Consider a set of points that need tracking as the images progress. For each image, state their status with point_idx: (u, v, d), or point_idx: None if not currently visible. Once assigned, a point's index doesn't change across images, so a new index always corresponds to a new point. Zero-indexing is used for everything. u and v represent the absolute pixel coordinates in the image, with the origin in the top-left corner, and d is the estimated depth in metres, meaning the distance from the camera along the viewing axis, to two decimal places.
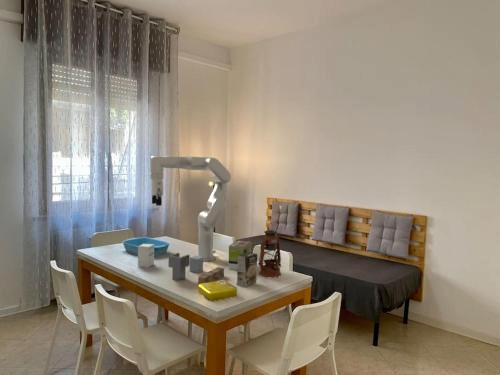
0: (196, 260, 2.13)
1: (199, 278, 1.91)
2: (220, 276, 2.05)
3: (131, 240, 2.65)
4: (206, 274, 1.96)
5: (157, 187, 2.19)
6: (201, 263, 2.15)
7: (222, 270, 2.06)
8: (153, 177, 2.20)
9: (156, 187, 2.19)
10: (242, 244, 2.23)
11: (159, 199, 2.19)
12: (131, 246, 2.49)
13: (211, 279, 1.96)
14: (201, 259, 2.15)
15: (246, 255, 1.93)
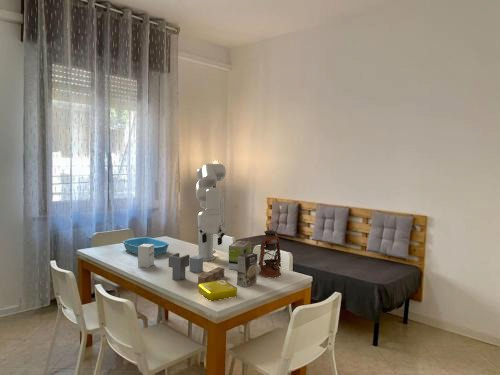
0: (196, 260, 2.13)
1: (199, 278, 1.91)
2: (220, 276, 2.05)
3: (132, 240, 2.66)
4: (206, 274, 1.96)
5: None
6: (201, 263, 2.15)
7: (222, 270, 2.06)
8: None
9: None
10: (242, 244, 2.23)
11: None
12: (131, 246, 2.49)
13: (211, 279, 1.96)
14: (201, 259, 2.15)
15: (246, 255, 1.93)
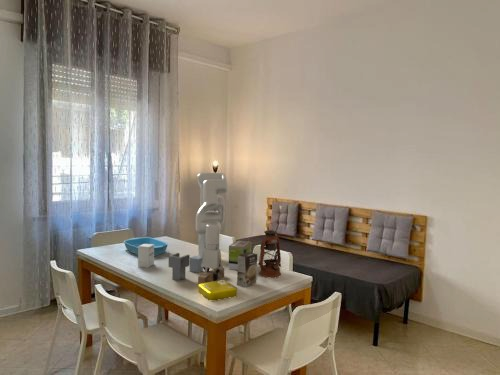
0: (196, 260, 2.13)
1: (199, 278, 1.91)
2: (220, 276, 2.04)
3: (133, 240, 2.67)
4: (206, 274, 1.96)
5: None
6: (201, 263, 2.15)
7: (222, 270, 2.06)
8: None
9: None
10: (242, 244, 2.23)
11: None
12: (130, 246, 2.50)
13: (211, 278, 1.96)
14: (201, 259, 2.15)
15: (246, 255, 1.93)
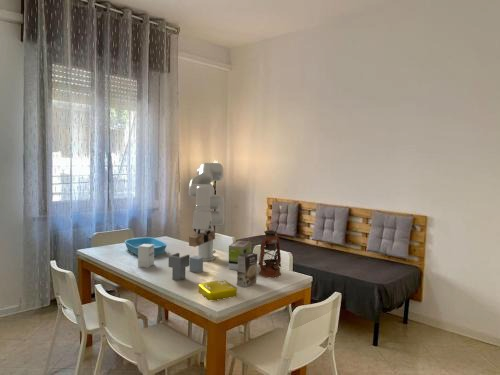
0: (196, 260, 2.13)
1: (190, 238, 1.94)
2: (211, 238, 2.07)
3: (135, 240, 2.68)
4: (197, 234, 1.98)
5: None
6: (201, 263, 2.15)
7: (213, 232, 2.09)
8: None
9: None
10: (242, 244, 2.23)
11: None
12: (129, 246, 2.50)
13: (202, 239, 1.99)
14: (201, 259, 2.15)
15: (246, 255, 1.93)
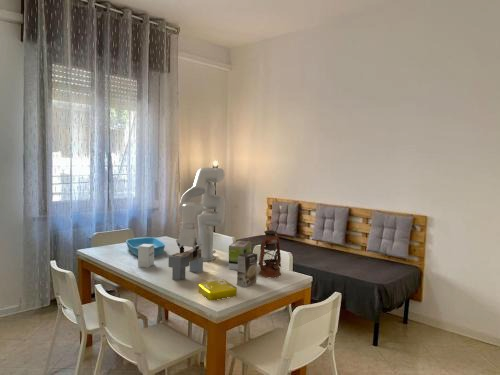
0: (196, 260, 2.13)
1: None
2: (197, 256, 2.13)
3: (137, 239, 2.69)
4: (182, 253, 2.04)
5: None
6: (201, 263, 2.15)
7: (199, 251, 2.15)
8: None
9: None
10: (242, 244, 2.23)
11: None
12: (129, 245, 2.51)
13: None
14: (201, 259, 2.15)
15: (246, 255, 1.93)
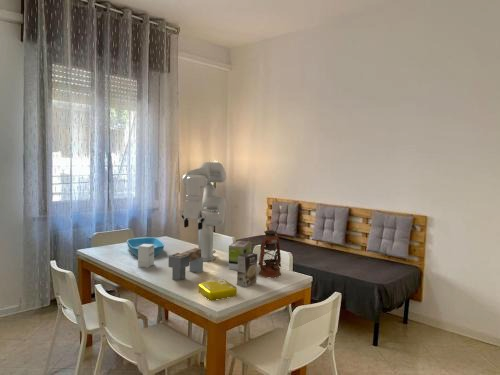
0: (196, 260, 2.13)
1: None
2: (197, 256, 2.13)
3: (138, 239, 2.69)
4: (182, 253, 2.04)
5: None
6: (201, 263, 2.15)
7: (199, 251, 2.15)
8: None
9: None
10: (242, 244, 2.23)
11: None
12: (128, 245, 2.52)
13: None
14: (201, 259, 2.15)
15: (246, 255, 1.93)
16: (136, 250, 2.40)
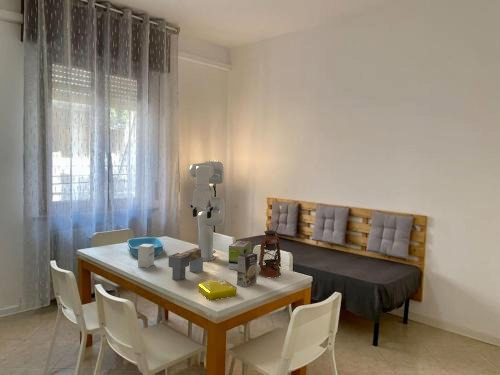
0: (196, 260, 2.13)
1: None
2: (197, 256, 2.13)
3: (139, 239, 2.70)
4: (182, 253, 2.04)
5: None
6: (201, 263, 2.15)
7: (199, 251, 2.15)
8: None
9: None
10: (242, 244, 2.23)
11: None
12: (128, 245, 2.52)
13: None
14: (201, 259, 2.15)
15: (246, 255, 1.93)
16: (135, 250, 2.40)
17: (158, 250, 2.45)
